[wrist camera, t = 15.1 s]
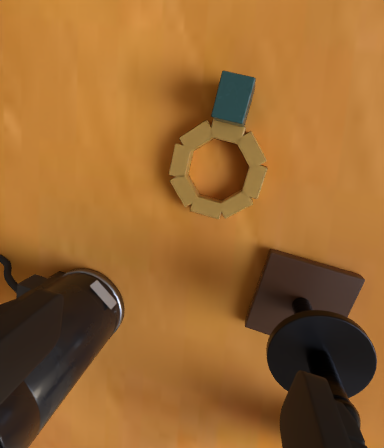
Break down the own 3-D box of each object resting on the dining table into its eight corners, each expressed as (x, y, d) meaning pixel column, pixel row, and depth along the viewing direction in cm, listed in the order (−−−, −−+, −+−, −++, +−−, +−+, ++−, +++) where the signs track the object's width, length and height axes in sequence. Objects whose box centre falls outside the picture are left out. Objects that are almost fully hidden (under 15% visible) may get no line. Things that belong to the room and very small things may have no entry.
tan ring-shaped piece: (166, 200, 29) (152, 208, 25) (194, 75, 26) (183, 61, 21) (248, 224, 28) (247, 236, 24) (289, 97, 24) (297, 86, 20)
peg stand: (244, 320, 31) (241, 458, 17) (270, 248, 28) (290, 342, 14) (326, 347, 30) (393, 518, 16) (360, 274, 27) (477, 404, 13)
